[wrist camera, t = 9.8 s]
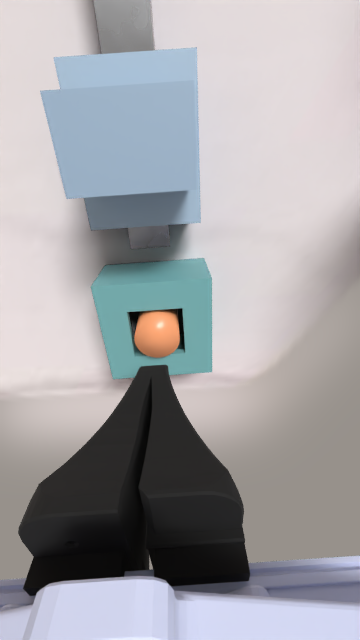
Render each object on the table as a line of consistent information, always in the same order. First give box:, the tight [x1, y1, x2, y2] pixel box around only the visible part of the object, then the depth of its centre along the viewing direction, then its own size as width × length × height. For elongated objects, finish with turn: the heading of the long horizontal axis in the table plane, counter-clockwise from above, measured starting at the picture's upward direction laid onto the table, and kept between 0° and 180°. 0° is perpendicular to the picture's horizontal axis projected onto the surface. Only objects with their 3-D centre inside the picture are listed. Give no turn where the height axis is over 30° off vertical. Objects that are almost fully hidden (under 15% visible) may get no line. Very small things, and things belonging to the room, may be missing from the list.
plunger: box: [134, 308, 180, 358], centre depth 18 cm, size 3×3×4 cm
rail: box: [93, 0, 170, 249], centre depth 12 cm, size 5×21×3 cm, turn 4°
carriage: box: [40, 47, 201, 230], centre depth 13 cm, size 6×7×7 cm
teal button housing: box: [91, 258, 212, 379], centre depth 19 cm, size 7×7×4 cm
